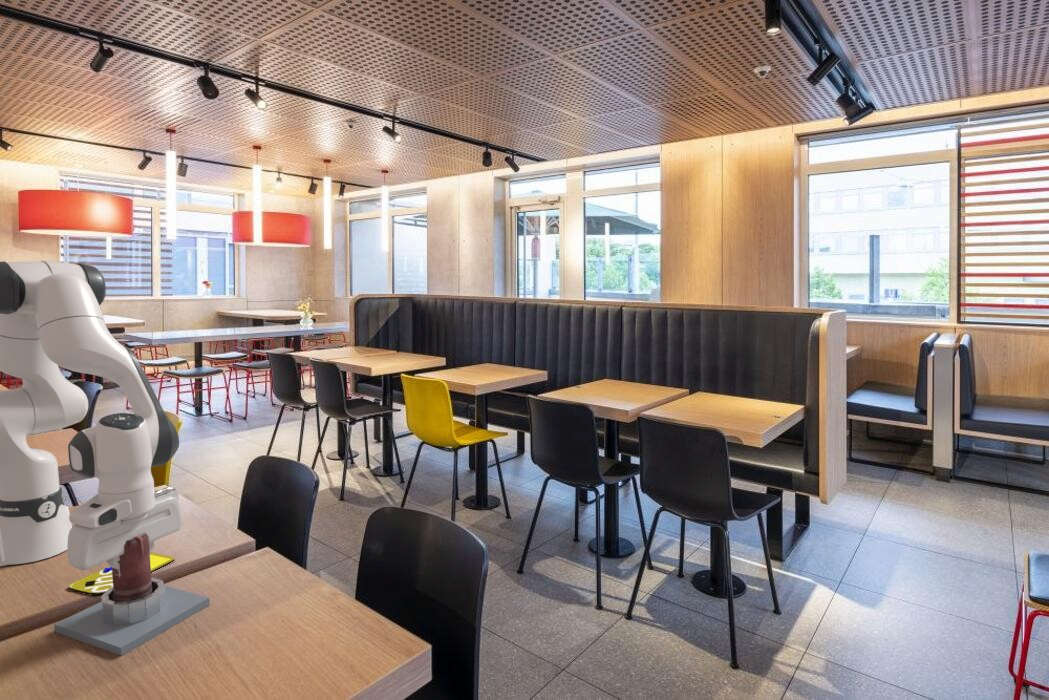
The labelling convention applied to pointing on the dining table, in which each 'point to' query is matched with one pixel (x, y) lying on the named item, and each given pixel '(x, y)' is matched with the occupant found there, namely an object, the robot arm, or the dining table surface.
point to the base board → (128, 637)
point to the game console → (104, 579)
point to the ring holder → (133, 606)
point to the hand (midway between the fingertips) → (131, 570)
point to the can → (133, 571)
